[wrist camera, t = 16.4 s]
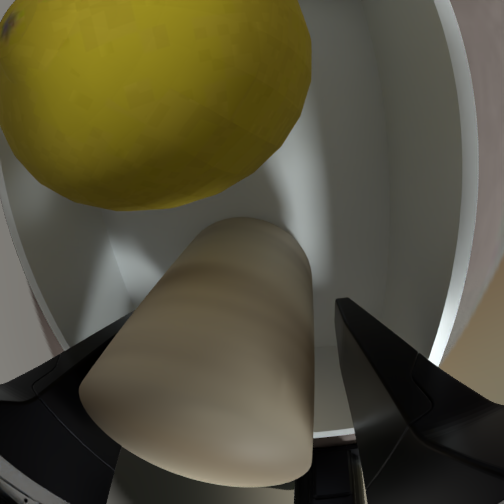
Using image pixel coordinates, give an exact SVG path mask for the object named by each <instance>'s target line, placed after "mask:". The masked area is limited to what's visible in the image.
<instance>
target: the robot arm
mask: <svg viewBox="0 0 504 504" xmlns="http://www.w3.org/2000/svg"><path fill="white" fill-rule="evenodd" d="M135 310H136V309H135ZM135 310H133V311H132V312H130V313H128V314H127V315H125V316H123V317H121V318H120V319H118V320H116V321H115V322H113V323H111V324H110V325H108V326H106V327H104V328H103V329H101V330H99V331H98V332H96V333H94V334H93V335H91V336H89V337H87V338H86V339H84V340H82V341H81V342H79V343H77V344H76V345H74V346H72V347H71V348H69V349H67V350H66V351H64V352H62V353H61V354H59V355H57V356H55V357H54V358H52V359H50V360H49V361H47V362H45V363H43V364H42V365H40V366H38V367H36V368H34V369H33V370H30V371H28V372H27V373H25V374H23V375H21V376H19V377H17V378H15V379H13V380H11V381H9V382H7V383H4V384H0V504H106V503H107V499H108V495H109V491H110V487H111V483H112V479H113V475H114V470H115V468H116V464H117V460H118V457H119V453H120V450H121V447H122V446H121V445H120V444H118V443H117V442H116V441H114V440H113V439H112V438H111V437H110V436H108V435H107V434H106V433H105V432H104V431H103V430H102V429H101V428H100V427H99V426H98V425H97V424H96V423H95V422H94V421H93V420H92V418H91V417H90V416H89V414H88V413H87V412H86V410H85V408H84V407H83V405H82V402H81V400H80V396H79V387H80V384H81V382H82V381H83V379H84V378H85V377H86V375H87V374H88V372H89V371H90V370H91V368H92V367H93V365H94V364H95V363H96V361H97V360H98V359H99V357H100V356H101V354H102V353H103V352H104V350H105V349H106V348H107V346H108V345H109V344H110V342H111V341H112V340H113V338H114V337H115V336H116V334H117V333H118V332H119V330H120V329H121V328H122V326H123V325H124V324H125V323H126V321H127V320H128V319H129V317H130V316H131V315H132V314H133V312H134V311H135ZM334 323H335V332H336V340H337V348H338V356H339V364H340V370H341V375H342V379H343V383H344V387H345V391H346V395H347V399H348V404H349V408H350V413H351V417H352V422H353V426H354V431H355V436H356V441H357V444H356V445H350V446H343V447H335V448H325V449H314V450H312V463H311V467H310V469H309V470H308V471H307V472H306V473H305V474H304V475H303V476H301V477H299V478H297V479H295V490H294V504H365V500H364V489H363V479H362V471H363V477H364V483H365V489H366V496H367V502H368V504H504V405H500V404H496V403H494V402H491V401H489V400H488V399H486V398H484V397H483V396H481V395H480V394H478V393H477V392H475V391H474V390H472V389H470V388H469V387H467V386H466V385H464V384H462V383H461V382H459V381H458V380H456V379H455V378H453V377H451V376H450V375H449V374H447V373H446V372H444V371H443V370H441V369H440V368H439V367H437V366H436V365H435V364H433V363H432V362H431V361H429V360H428V359H427V358H426V357H424V356H423V355H422V354H421V353H418V351H417V350H415V349H414V348H413V347H412V346H410V345H409V344H408V343H407V342H405V341H404V340H403V339H402V338H400V337H399V336H398V335H397V334H395V333H394V332H393V331H391V330H390V329H389V328H388V327H386V326H385V325H384V324H382V323H381V322H380V321H379V320H377V319H376V318H375V317H373V316H372V315H371V314H370V313H368V312H367V311H366V310H364V309H363V308H362V307H361V306H359V305H358V304H357V303H355V302H354V301H353V300H351V299H350V298H348V297H345V298H337V299H336V300H335V317H334ZM361 466H362V469H361Z"/></svg>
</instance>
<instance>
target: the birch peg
mask: <svg viewBox="0 0 504 504" xmlns="http://www.w3.org/2000/svg"><path fill="white" fill-rule="evenodd" d="M314 388H315V353H314V310H313V286H312V272H311V267H310V263H309V260H308V258H307V256H306V254H305V252H304V250H303V249H302V247H301V246H300V244H299V243H298V242H297V241H296V240H295V239H294V238H293V237H292V236H291V235H290V234H288V233H287V232H286V231H284V230H283V229H281V228H280V227H278V226H276V225H274V224H272V223H270V222H267V221H264V220H260V219H255V218H248V217H235V218H229V219H224V220H221V221H218V222H215V223H213V224H211V225H209V226H208V227H206V228H205V229H204V230H202V231H201V232H200V233H199V234H198V235H197V236H196V237H195V238H194V239H193V241H192V242H191V243H190V244H189V245H188V246H187V248H186V249H185V250H184V251H183V252H182V253H181V255H180V256H179V257H178V258H177V259H176V260H175V262H174V263H173V264H172V265H171V266H170V268H169V269H168V270H167V271H166V272H165V274H164V275H163V276H162V277H161V279H160V280H159V281H158V282H157V283H156V285H155V286H154V287H153V288H152V290H151V291H150V292H149V293H148V295H147V296H146V297H145V298H144V300H143V301H142V302H141V303H140V305H139V306H138V307H137V308H136V310H135V311H134V312H133V314H132V315H131V316H130V317H129V319H128V320H127V321H126V323H125V324H124V325H123V326H122V328H121V329H120V330H119V332H118V333H117V334H116V336H115V337H114V338H113V340H112V341H111V342H110V344H109V345H108V346H107V348H106V349H105V350H104V352H103V353H102V354H101V356H100V357H99V359H98V360H97V361H96V363H95V364H94V365H93V367H92V368H91V370H90V371H89V372H88V374H87V375H86V377H85V378H84V379H83V381H82V382H81V384H80V387H79V396H80V400H81V402H82V405H83V407H84V408H85V410H86V412H87V413H88V414H89V416H90V417H91V418H92V420H93V421H94V422H95V423H96V424H97V425H98V426H99V427H100V428H101V429H102V430H103V431H104V432H105V433H106V434H107V435H108V436H110V437H111V438H112V439H113V440H114V441H116V442H117V443H118V444H120V445H121V446H123V447H124V448H126V449H127V450H129V451H130V452H132V453H133V454H135V455H137V456H138V457H140V458H142V459H144V460H146V461H148V462H150V463H152V464H154V465H156V466H158V467H161V468H163V469H165V470H168V471H170V472H173V473H176V474H178V475H181V476H184V477H188V478H191V479H195V480H198V481H203V482H207V483H212V484H218V485H225V486H235V487H265V486H273V485H279V484H283V483H287V482H290V481H293V480H295V479H297V478H299V477H301V476H303V475H304V474H305V473H306V472H307V471H308V470H309V469H310V467H311V463H312V450H313V429H314Z"/></svg>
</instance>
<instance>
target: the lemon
mask: <svg viewBox="0 0 504 504" xmlns="http://www.w3.org/2000/svg"><path fill="white" fill-rule="evenodd" d="M311 72H312V44H311V37H310V34H309V31H308V28H307V25H306V22H305V19H304V16H303V13H302V11H301V8H300V5H299V3H298V0H15V2H14V3H13V4H12V5H11V6H10V8H9V9H8V10H7V12H6V13H5V15H4V16H3V18H2V20H1V22H0V127H1V129H2V131H3V133H4V136H5V138H6V140H7V142H8V144H9V146H10V148H11V150H12V152H13V154H14V156H15V157H16V158H17V159H18V160H19V161H20V163H21V164H22V165H23V166H24V167H25V168H26V169H27V171H28V172H29V173H30V174H31V175H32V176H33V177H34V178H35V179H36V180H37V181H38V182H39V183H40V184H42V185H44V186H46V187H47V188H49V189H51V190H52V191H54V192H56V193H58V194H59V195H61V196H63V197H65V198H67V199H69V200H71V201H73V202H75V203H80V204H84V205H89V206H94V207H98V208H103V209H108V210H113V211H140V210H157V209H168V208H175V207H178V206H182V205H185V204H188V203H191V202H194V201H197V200H201V199H204V198H207V197H210V196H213V195H216V194H218V193H221V192H222V191H224V190H226V189H227V188H229V187H231V186H232V185H234V184H236V183H237V182H239V181H241V180H243V179H244V178H246V177H248V176H249V175H251V174H253V173H254V172H255V171H256V170H257V169H258V168H259V167H260V166H261V165H262V164H263V163H265V162H266V161H267V160H268V159H269V158H270V157H271V156H272V155H273V154H274V153H275V152H276V151H277V150H278V149H279V148H280V147H281V146H282V145H283V143H284V141H285V140H286V138H287V137H288V135H289V133H290V132H291V130H292V129H293V127H294V125H295V124H296V122H297V121H298V119H299V118H300V116H301V112H302V109H303V106H304V103H305V99H306V96H307V93H308V90H309V86H310V83H311Z"/></svg>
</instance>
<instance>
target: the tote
mask: <svg viewBox="0 0 504 504" xmlns="http://www.w3.org/2000/svg"><path fill="white" fill-rule="evenodd" d="M298 3H299V5H300V8H301V11H302V13H303V16H304V19H305V22H306V25H307V28H308V31H309V34H310V37H311V44H312V72H311V83H310V86H309V90H308V93H307V96H306V99H305V103H304V106H303V109H302V112H301V116H300V118H299V119H298V121H297V122H296V124H295V125H294V127H293V129H292V130H291V132H290V133H289V135H288V137H287V138H286V140H285V141H284V143H283V145H282V146H281V147H280V148H279V149H278V150H277V151H276V152H275V153H274V154H273V155H272V156H271V157H270V158H269V159H268V160H267V161H266V162H265V163H263V164H262V165H261V166H260V167H259V168H258V169H257V170H256V171H255V172H254V173H253V174H251V175H249V176H248V177H246V178H244V179H243V180H241V181H239V182H237V183H236V184H234V185H232V186H231V187H229V188H227V189H226V190H224V191H222V192H221V193H218V194H216V195H213V196H210V197H207V198H204V199H201V200H197V201H194V202H191V203H188V204H185V205H182V206H178V207H175V208H168V209H157V210H140V211H113V210H108V209H103V208H98V207H94V206H89V205H84V204H80V203H75V202H73V201H71V200H69V199H67V198H65V197H63V196H61V195H59V194H58V193H56V192H54V191H52V190H51V189H49V188H47V187H46V186H44V185H42V184H40V183H39V182H38V181H37V180H36V179H35V178H34V177H33V176H32V175H31V174H30V173H29V172H28V171H27V169H26V168H25V167H24V166H23V165H22V164H21V163H20V161H19V160H18V159H17V158H16V157H15V156H14V154H13V152H12V150H11V148H10V146H9V144H8V142H7V140H6V138H5V136H4V133H3V131H2V129H1V127H0V199H1V202H2V207H3V210H4V214H5V218H6V221H7V225H8V228H9V231H10V234H11V238H12V241H13V244H14V246H15V249H16V252H17V255H18V257H19V260H20V262H21V265H22V268H23V270H24V273H25V275H26V278H27V280H28V282H29V285H30V287H31V289H32V291H33V294H34V296H35V298H36V300H37V302H38V304H39V306H40V308H41V310H42V312H43V314H44V316H45V318H46V320H47V322H48V324H49V325H50V327H51V329H52V331H53V333H54V334H55V336H56V338H57V340H58V341H59V343H60V345H61V346H62V348H63V350H64V351H66V350H67V349H69V348H71V347H72V346H74V345H76V344H77V343H79V342H81V341H82V340H84V339H86V338H87V337H89V336H91V335H93V334H94V333H96V332H98V331H99V330H101V329H103V328H104V327H106V326H108V325H110V324H111V323H113V322H115V321H116V320H118V319H120V318H121V317H123V316H125V315H127V314H128V313H130V312H132V311H133V310H135V309H136V308H137V307H138V306H139V305H140V303H141V302H142V301H143V300H144V298H145V297H146V296H147V295H148V293H149V292H150V291H151V290H152V288H153V287H154V286H155V285H156V283H157V282H158V281H159V280H160V279H161V277H162V276H163V275H164V274H165V272H166V271H167V270H168V269H169V268H170V266H171V265H172V264H173V263H174V262H175V260H176V259H177V258H178V257H179V256H180V255H181V253H182V252H183V251H184V250H185V249H186V248H187V246H188V245H189V244H190V243H191V242H192V241H193V239H194V238H195V237H196V236H197V235H198V234H199V233H200V232H201V231H202V230H204V229H205V228H206V227H208V226H209V225H211V224H213V223H215V222H218V221H221V220H224V219H229V218H235V217H248V218H255V219H260V220H264V221H267V222H270V223H272V224H274V225H276V226H278V227H280V228H281V229H283V230H284V231H286V232H287V233H288V234H290V235H291V236H292V237H293V238H294V239H295V240H296V241H297V242H298V243H299V244H300V246H301V247H302V249H303V250H304V252H305V254H306V256H307V258H308V260H309V263H310V267H311V272H312V286H313V310H314V353H315V388H314V429H313V438H322V437H332V436H340V435H348V434H354V433H355V431H354V426H353V422H352V417H351V413H350V408H349V404H348V399H347V395H346V391H345V387H344V383H343V379H342V375H341V370H340V364H339V356H338V348H337V340H336V332H335V323H334V317H335V300H336V299H337V298H345V297H348V298H350V299H351V300H353V301H354V302H355V303H357V304H358V305H359V306H361V307H362V308H363V309H364V310H366V311H367V312H368V313H370V314H371V315H372V316H373V317H375V318H376V319H377V320H379V321H380V322H381V323H382V324H384V325H385V326H386V327H388V328H389V329H390V330H391V331H393V332H394V333H395V334H397V335H398V336H399V337H400V338H402V339H403V340H404V341H405V342H407V343H408V344H409V345H410V346H412V347H413V348H414V349H415V350H417V351H418V353H421V354H422V355H423V356H424V357H426V358H427V359H428V360H429V361H431V362H432V363H433V364H435V365H436V366H437V367H438V365H439V363H440V360H441V358H442V355H443V353H444V350H445V347H446V345H447V342H448V339H449V336H450V333H451V330H452V327H453V324H454V321H455V317H456V314H457V311H458V307H459V304H460V300H461V296H462V292H463V288H464V284H465V280H466V275H467V270H468V265H469V260H470V255H471V249H472V243H473V236H474V228H475V220H476V210H477V197H478V175H479V151H478V129H477V117H476V107H475V99H474V92H473V86H472V80H471V74H470V69H469V64H468V60H467V55H466V51H465V47H464V43H463V40H462V36H461V33H460V29H459V26H458V23H457V20H456V17H455V14H454V11H453V8H452V5H451V3H450V0H298Z"/></svg>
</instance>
